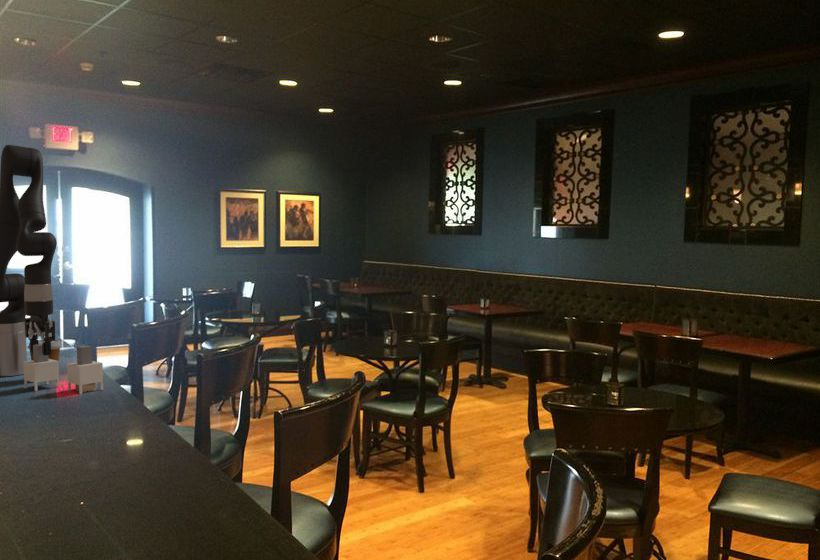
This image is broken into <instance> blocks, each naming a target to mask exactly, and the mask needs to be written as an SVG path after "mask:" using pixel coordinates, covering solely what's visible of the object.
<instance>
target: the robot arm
mask: <svg viewBox="0 0 820 560" xmlns="http://www.w3.org/2000/svg"><path fill="white" fill-rule="evenodd" d="M14 176H16V177H18V176H19V177H27V178H30V184H29V185H28V186H27V188H26V190H25V191H24V192H23V193H22V195H21V196H20V197H19V196H18V193H17V191H16V188H15V185H14ZM46 226H47V218H46V213H45V205H44V161H43V155H42V152H41V151H40V150H39V149H37V148H33V147H27V146H19V145H13V144H6V145H4V147H3V148H2V150H1V156H0V303H7V306H6V307H5V308H3V309H2V310H0V377H11V376H12V377H13V376H20V375H24V362H26V361H28V352H27V350H28V349H27V348H28V346H27V339H28V341H29V343H30V350H29V353H30V352H31V353H33V345H37V344H38V339H39V337H40V339H41V340H42V342H43V343H42V352H43V355H51V342H52V341H54V340H56V321H55V320H50V319H49V318H50V317H49V316H51V315H53V314H54V297H53V296H54V295H53V286H52V265H53V264H52V263H53V259H54V255H55V252H56V250H57V245H58V244H57V237H56V236H55V235H54V234H53V232H47V231H46V232H45V231H44V232H41V231H42V230H43V229H45V228H46ZM17 252H18V253H19V254H20V255H21V256H23V257H35V256H36V257H39V256H42V258H41V260H40V261H39V262H35V263H31V264H27V265H25V266H24V268H23V269H24V270H23V273H24V275H23V274H22V273H7V269H8V266H9V264H10V262H11V260H12V258H13V256H14V255H15V254H16V253H17Z"/></svg>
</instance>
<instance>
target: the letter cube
mask: <svg viewBox="0 0 820 560" xmlns="http://www.w3.org/2000/svg"><path fill="white" fill-rule="evenodd" d="M96 383H97V382H96ZM96 383H91V384H85V385H82V393H87V391H88V392H92V390H93V391H96V390H97V385H96ZM74 385H75V386H74V387H75V388H74V389H75V391H76V392H79V385H76V384H74Z"/></svg>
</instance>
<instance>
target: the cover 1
mask: <svg viewBox="0 0 820 560" xmlns="http://www.w3.org/2000/svg"><path fill="white" fill-rule="evenodd" d="M59 361H60V360H59ZM59 361H57V360H52V359H48V355H43V352H42V344H37V345H33V361H31V360H27V361H26V362H24V374H23V381H24V382H23V383H24V384H23V385H24V387H23V388H24V389H28V382H30V383H33V384H34V385H33V386H34V387H33V388H34V392H39V391H38V383H42V382H45V383H46V384H45V385H50V381H56V382H55V383H56V384H55V385H56V388H60V366H59V363H60V362H59Z"/></svg>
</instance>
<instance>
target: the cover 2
mask: <svg viewBox="0 0 820 560" xmlns="http://www.w3.org/2000/svg"><path fill="white" fill-rule="evenodd" d="M66 367H67V368H66V370H67V371H66V373H67V392H71V391H72V384H73V385H75V384H76V385H79V391H78V393H79V394H80V395H82V394H83V392H82V385H85V384H91V383H99V386H100V389H99V390H101V391H103V390H104V374H103V373H104V371H103V370H104V369H103V367H104V365H103V362H100V361H95V360H93V347H92V345H81V346H76V362H70V363H67V364H66Z"/></svg>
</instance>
